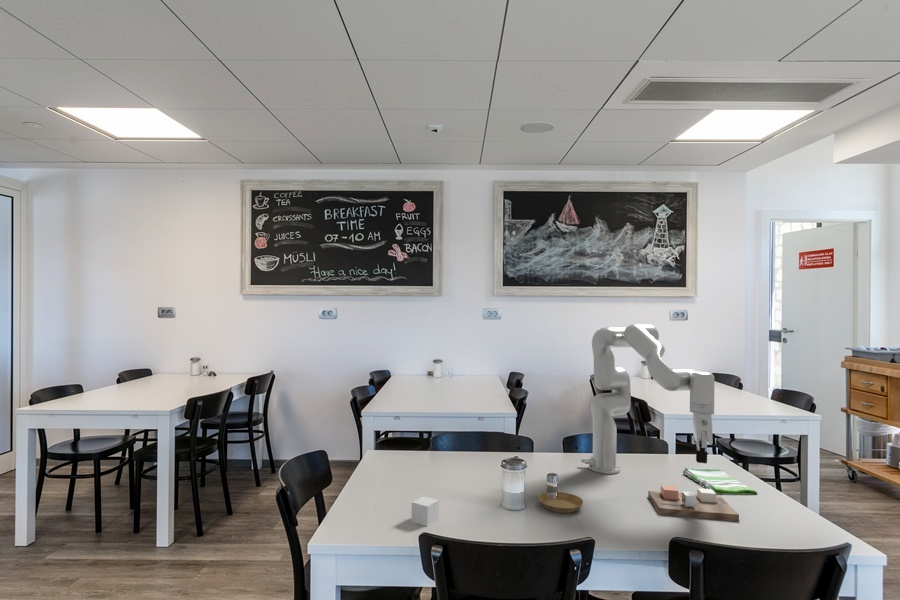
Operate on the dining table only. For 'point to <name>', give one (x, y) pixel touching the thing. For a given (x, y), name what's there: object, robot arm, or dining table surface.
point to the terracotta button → (669, 492)
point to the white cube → (425, 511)
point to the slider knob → (688, 499)
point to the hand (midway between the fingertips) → (701, 462)
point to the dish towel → (717, 481)
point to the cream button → (706, 495)
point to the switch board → (700, 510)
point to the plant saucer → (561, 502)
